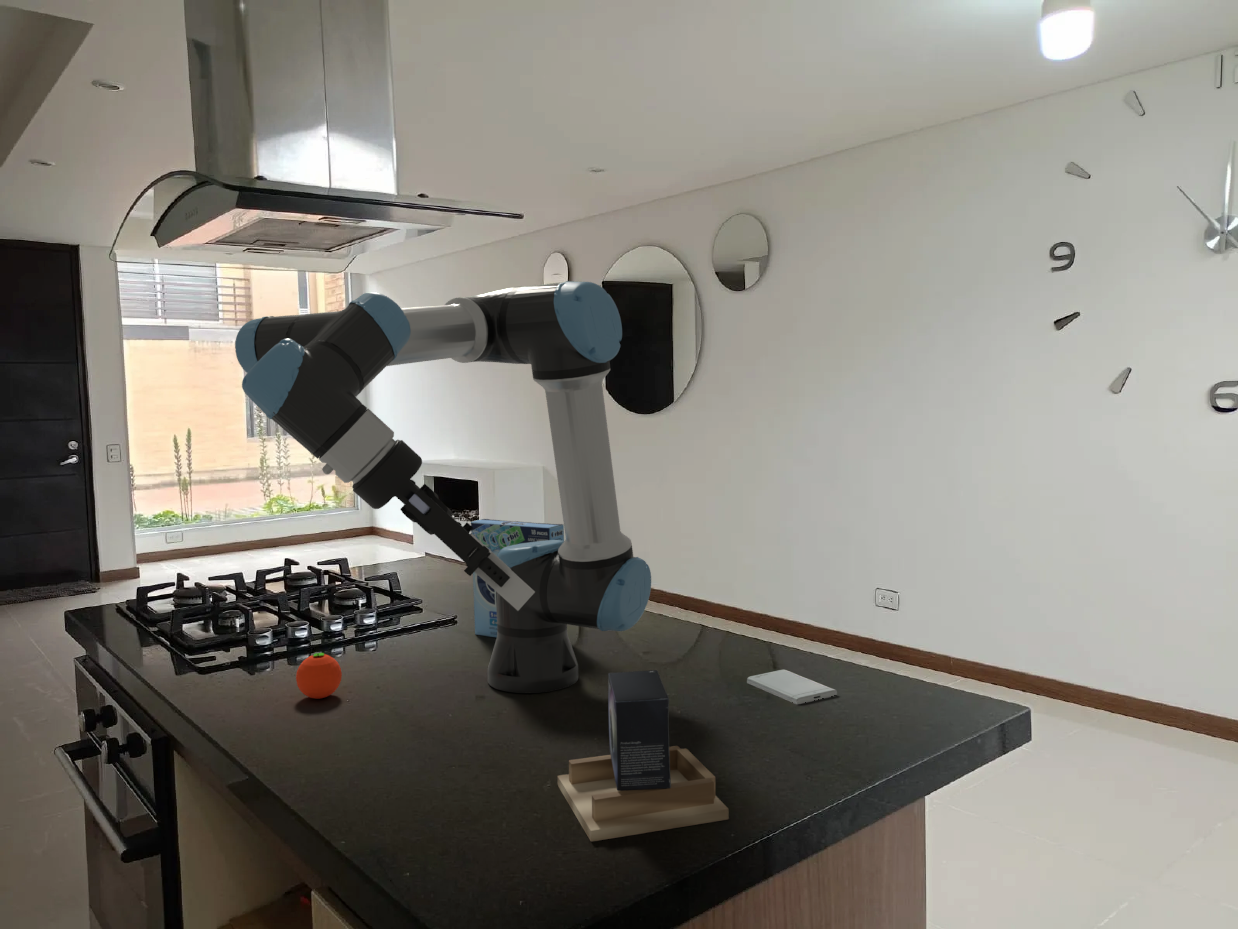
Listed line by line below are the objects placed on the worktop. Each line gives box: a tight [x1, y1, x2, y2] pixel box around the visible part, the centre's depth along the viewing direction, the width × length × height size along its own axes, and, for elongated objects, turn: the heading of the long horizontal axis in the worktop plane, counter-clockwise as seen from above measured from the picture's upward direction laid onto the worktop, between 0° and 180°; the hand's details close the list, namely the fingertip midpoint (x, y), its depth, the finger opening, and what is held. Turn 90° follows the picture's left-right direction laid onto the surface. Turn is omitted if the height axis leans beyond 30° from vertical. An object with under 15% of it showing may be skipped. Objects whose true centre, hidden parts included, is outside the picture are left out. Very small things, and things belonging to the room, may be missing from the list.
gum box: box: [470, 518, 565, 639], centre depth 180 cm, size 20×5×23 cm, turn 59°
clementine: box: [295, 652, 343, 700], centre depth 147 cm, size 8×7×7 cm
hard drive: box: [746, 669, 838, 705], centre depth 148 cm, size 2×8×12 cm
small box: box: [607, 669, 671, 791], centre depth 107 cm, size 11×6×10 cm, turn 5°
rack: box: [557, 745, 730, 842], centre depth 108 cm, size 15×16×4 cm
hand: (514, 588), depth 105 cm, fingers open, 13 cm apart
